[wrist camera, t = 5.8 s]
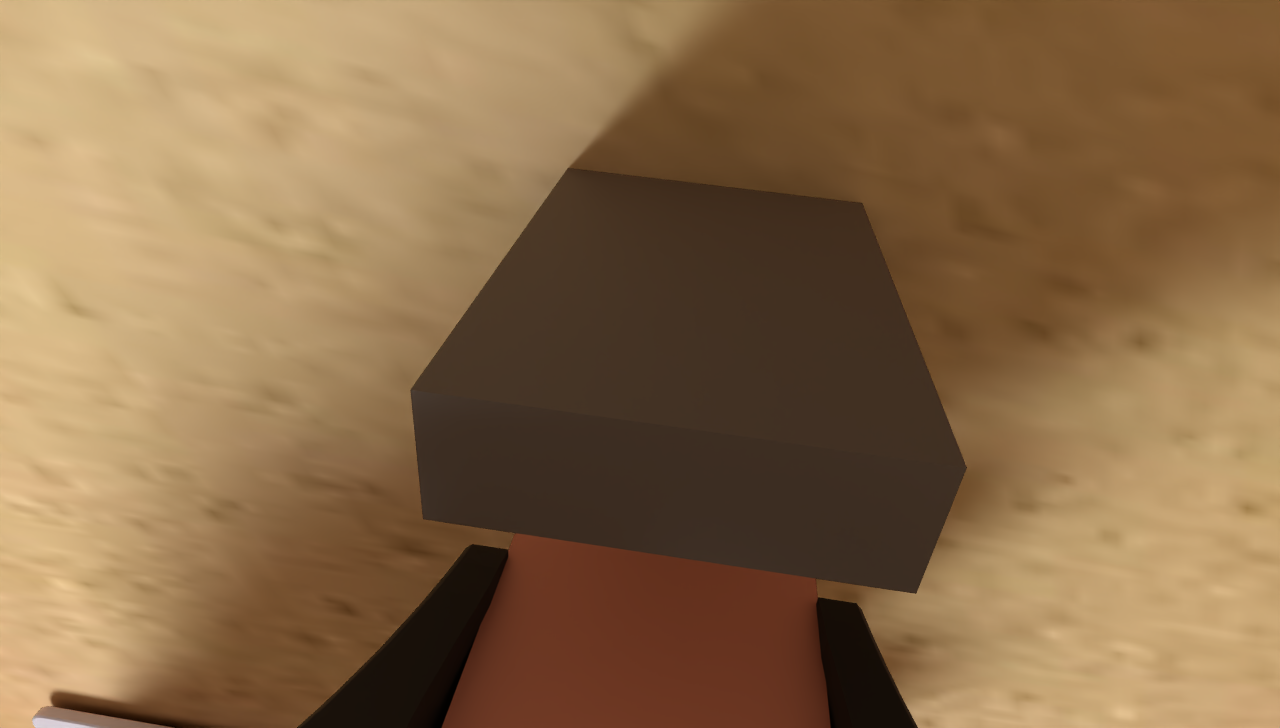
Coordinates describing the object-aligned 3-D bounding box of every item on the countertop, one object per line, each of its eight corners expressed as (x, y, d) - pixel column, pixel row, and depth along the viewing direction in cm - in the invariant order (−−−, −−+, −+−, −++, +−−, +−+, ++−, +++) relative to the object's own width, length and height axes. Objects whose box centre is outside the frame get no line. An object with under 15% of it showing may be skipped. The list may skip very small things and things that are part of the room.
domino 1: (840, 288, 13) (916, 593, 7) (564, 254, 14) (422, 519, 8) (862, 203, 12) (967, 468, 6) (568, 167, 13) (410, 390, 7)
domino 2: (791, 560, 15) (820, 1006, 9) (541, 523, 15) (403, 928, 9) (807, 499, 14) (852, 946, 8) (542, 460, 14) (390, 861, 8)
